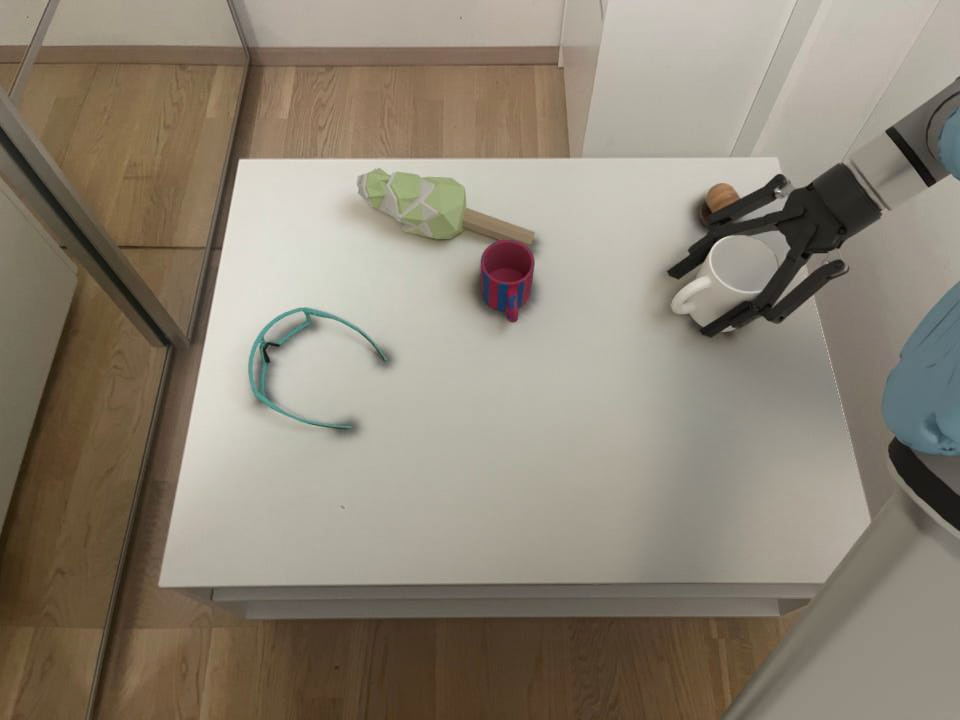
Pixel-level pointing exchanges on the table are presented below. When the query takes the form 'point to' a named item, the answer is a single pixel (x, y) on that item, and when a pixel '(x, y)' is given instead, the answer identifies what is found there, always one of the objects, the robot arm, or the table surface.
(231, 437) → the table surface
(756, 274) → the mug
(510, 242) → the cup
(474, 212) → the decorative object
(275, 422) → the table surface
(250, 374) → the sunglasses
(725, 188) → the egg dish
